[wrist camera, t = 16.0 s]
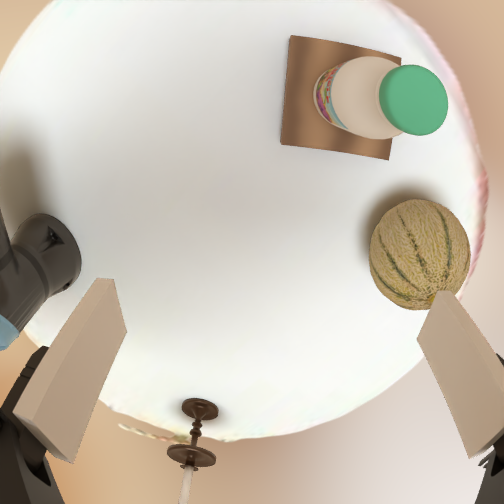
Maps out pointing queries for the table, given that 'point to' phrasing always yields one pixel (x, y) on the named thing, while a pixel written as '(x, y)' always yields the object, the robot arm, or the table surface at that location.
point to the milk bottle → (381, 98)
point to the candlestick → (193, 444)
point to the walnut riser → (302, 102)
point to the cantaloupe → (418, 253)
